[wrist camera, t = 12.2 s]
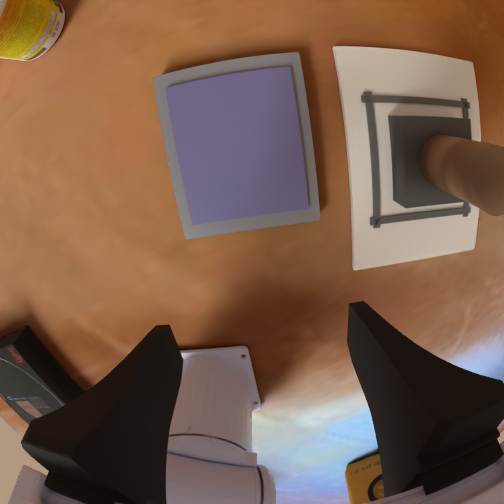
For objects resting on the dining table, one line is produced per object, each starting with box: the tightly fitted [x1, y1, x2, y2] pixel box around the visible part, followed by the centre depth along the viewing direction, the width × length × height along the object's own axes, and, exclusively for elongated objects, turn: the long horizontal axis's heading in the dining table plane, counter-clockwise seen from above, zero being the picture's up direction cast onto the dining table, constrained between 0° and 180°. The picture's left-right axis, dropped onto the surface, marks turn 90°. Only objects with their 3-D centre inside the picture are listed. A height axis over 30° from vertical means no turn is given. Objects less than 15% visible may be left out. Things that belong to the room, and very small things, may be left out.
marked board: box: [332, 46, 481, 271], centre depth 18 cm, size 16×12×1 cm
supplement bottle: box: [0, 0, 65, 61], centre depth 9 cm, size 6×6×10 cm
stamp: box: [388, 116, 504, 216], centre depth 14 cm, size 6×6×8 cm
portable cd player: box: [0, 325, 85, 425], centre depth 28 cm, size 16×17×4 cm
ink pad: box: [153, 52, 321, 240], centre depth 18 cm, size 11×9×2 cm
